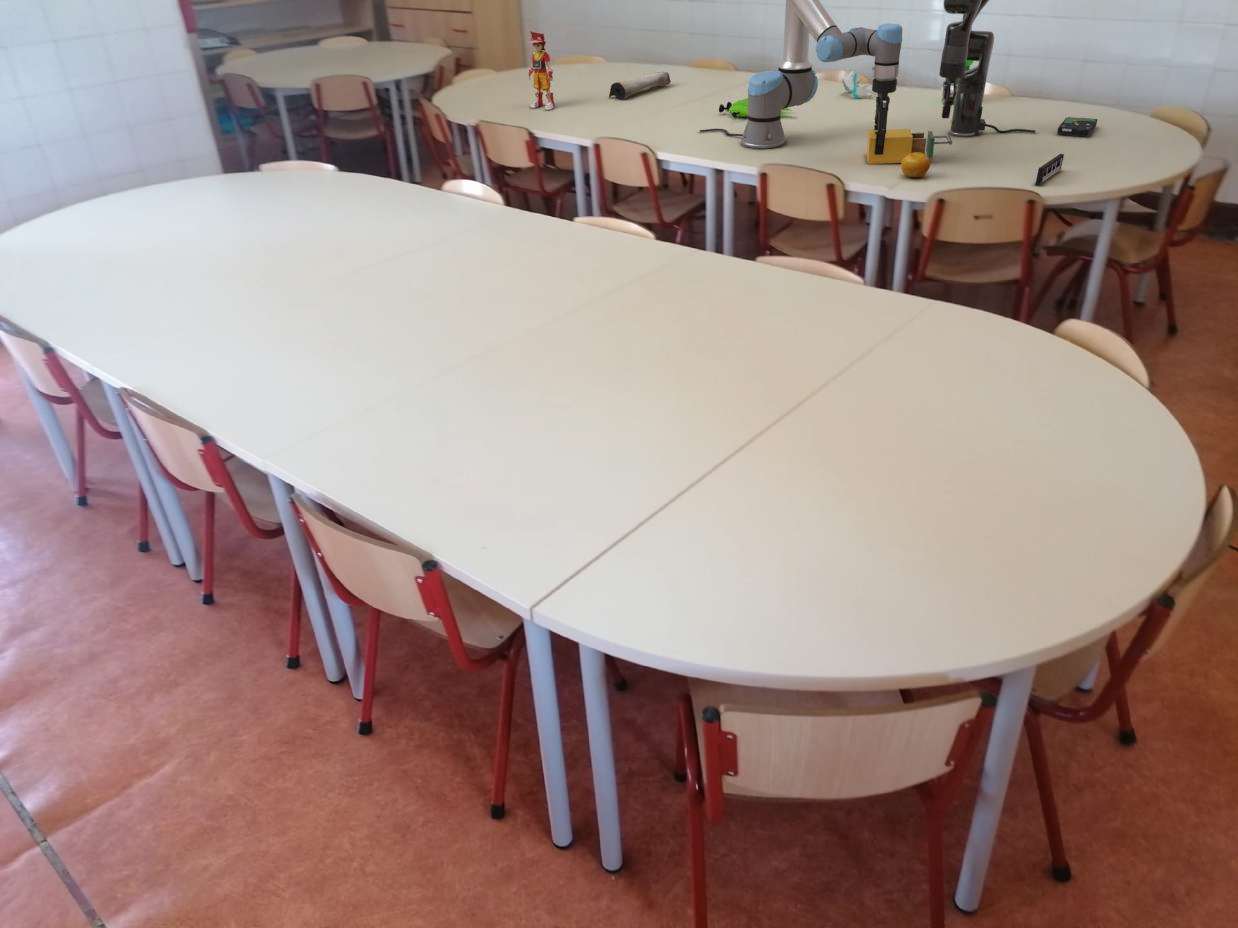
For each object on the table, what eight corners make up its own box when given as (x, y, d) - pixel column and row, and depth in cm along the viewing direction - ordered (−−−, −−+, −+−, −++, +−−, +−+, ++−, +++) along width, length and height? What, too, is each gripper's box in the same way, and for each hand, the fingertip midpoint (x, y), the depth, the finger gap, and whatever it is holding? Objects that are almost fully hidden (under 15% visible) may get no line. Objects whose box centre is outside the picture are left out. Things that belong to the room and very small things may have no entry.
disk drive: (1089, 138, 306) (1096, 126, 316) (1091, 129, 305) (1098, 118, 315) (1056, 135, 311) (1064, 124, 321) (1058, 126, 309) (1066, 115, 320)
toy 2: (709, 116, 351) (780, 128, 338) (711, 102, 348) (782, 114, 336) (739, 105, 371) (807, 117, 359) (741, 92, 368) (809, 103, 356)
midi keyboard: (1039, 185, 269) (1043, 168, 266) (1035, 184, 270) (1038, 168, 267) (1060, 170, 279) (1064, 154, 277) (1056, 169, 280) (1060, 153, 277)
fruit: (895, 167, 279) (911, 144, 276) (896, 170, 287) (913, 147, 284) (917, 183, 278) (934, 160, 275) (918, 184, 285) (935, 162, 282)
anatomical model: (837, 70, 373) (861, 64, 372) (839, 96, 379) (863, 89, 378) (847, 78, 361) (872, 71, 360) (850, 104, 367) (874, 98, 366)
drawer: (947, 150, 298) (949, 130, 294) (950, 158, 291) (953, 137, 287) (891, 152, 301) (893, 132, 298) (893, 160, 294) (895, 140, 290)
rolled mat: (651, 76, 408) (662, 61, 399) (662, 93, 408) (674, 79, 400) (605, 92, 391) (616, 77, 383) (617, 110, 391) (628, 95, 383)
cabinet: (907, 153, 301) (910, 128, 297) (910, 162, 293) (912, 137, 288) (866, 155, 304) (868, 130, 299) (867, 164, 296) (869, 138, 291)
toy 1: (525, 109, 381) (517, 32, 364) (534, 104, 388) (527, 28, 371) (550, 110, 377) (543, 32, 360) (559, 105, 384) (553, 28, 367)
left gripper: (871, 71, 294) (864, 140, 307) (875, 86, 276) (867, 159, 289) (894, 70, 293) (887, 140, 306) (900, 86, 275) (891, 159, 288)
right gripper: (938, 56, 284) (930, 113, 294) (943, 64, 274) (935, 123, 284) (963, 55, 283) (954, 112, 293) (969, 64, 272) (960, 123, 282)
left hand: (877, 149), depth 297 cm, fingers closed on cabinet, 10 cm apart
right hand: (945, 118), depth 288 cm, fingers closed
